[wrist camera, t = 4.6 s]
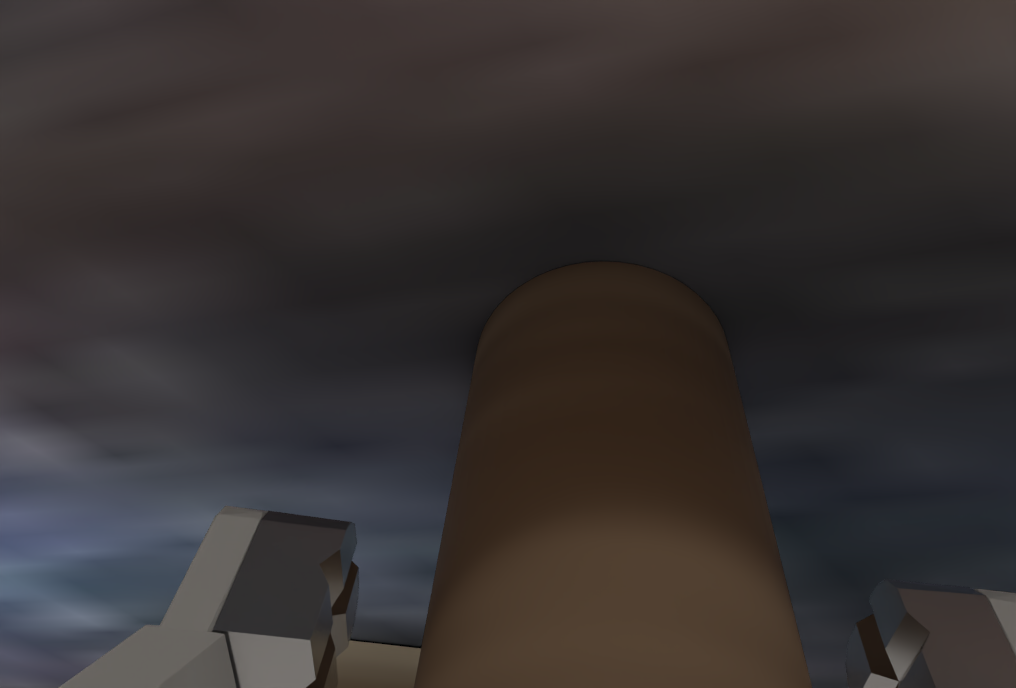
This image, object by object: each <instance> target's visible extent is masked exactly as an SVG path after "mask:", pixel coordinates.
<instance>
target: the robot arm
mask: <svg viewBox="0 0 1016 688" xmlns="http://www.w3.org/2000/svg"><path fill="white" fill-rule="evenodd" d="M356 544H357V538H356V528H355V523H352V522H347V521H340V520H332V519H325V518H318V517H310V516H303V515H296V514H288V513H281V512H273V511H263V510H255V509H247V508H239V507H231V506H225V507H224V508H223V509H222V510H221V511H220V512H219V513H218V514H217V515H216V516H215V518H214V520H213V522H212V524H211V526H210V528H209V529H208V531H207V533H206V535H205V537H204V539H203V541H202V543H201V545H200V547H199V549H198V551H197V553H196V555H195V557H194V559H193V561H192V563H191V565H190V567H189V569H188V571H187V573H186V575H185V577H184V579H183V581H182V583H181V585H180V587H179V589H178V591H177V593H176V595H175V596H174V598H173V600H172V602H171V604H170V606H169V608H168V610H167V612H166V614H165V616H164V618H163V620H162V622H161V624H160V626H158V625H145V626H144V627H142V628H141V629H140V630H138V631H137V632H135V633H134V634H133V635H131V636H130V637H128V638H127V639H126V640H124V641H123V642H121V643H120V644H119V645H117V646H116V647H114V648H113V649H112V650H110V651H109V652H107V653H106V654H105V655H103V656H102V657H101V658H99V659H98V660H96V661H95V662H94V663H92V664H91V665H89V666H88V667H87V668H85V669H84V670H82V671H81V672H80V673H78V674H77V675H75V676H74V677H73V678H71V679H70V680H69V681H67V682H66V683H64V684H63V685H62V686H60V687H59V688H337V685H338V673H337V661H336V657H337V656H339V655H340V654H341V653H342V652H343V651H344V650H345V649H347V648H348V645H349V641H350V638H351V634H352V630H353V626H354V621H355V615H356V609H357V603H358V594H359V568H358V567H357V566H356V565H355V564H354V563H353V562H352V558H353V555H354V551H355V548H356ZM869 601H870V605H871V608H872V611H873V614H872V615H870V616H868V617H866V618H865V619H863V620H861V621H859V622H857V623H856V624H855V627H854V629H853V631H852V633H851V635H850V638H849V640H848V644H847V654H846V673H847V682H848V686H849V688H1016V593H1011V592H1002V591H992V590H983V589H972V588H970V587H961V586H951V585H941V584H930V583H920V582H909V581H899V580H889V579H885V580H884V581H882V582H880V583H879V584H877V585H876V587H875V589H874V590H873V592H872V594H871V596H870V598H869Z"/></svg>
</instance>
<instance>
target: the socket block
mask: <svg viewBox="0 0 1016 688" xmlns="http://www.w3.org/2000/svg"><path fill="white" fill-rule="evenodd" d="M420 652H421V648H412V647H404V646H395V645H386V644H377V643H368V642H359V641H349V645H348V648H347V649H345V650H344V651H343V652H342V653H341V654H340V655H339V656H337V657H336V661H337V673H338V685H337V688H414V684H415V679H416V673H417V668H418V662H419V657H420Z"/></svg>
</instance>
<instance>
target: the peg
mask: <svg viewBox="0 0 1016 688" xmlns="http://www.w3.org/2000/svg"><path fill="white" fill-rule="evenodd" d="M414 688H812V685H811V681H810V677H809V673H808V669H807V664H806V660H805V656H804V652H803V648H802V644H801V640H800V636H799V632H798V628H797V624H796V620H795V616H794V612H793V607H792V603H791V599H790V595H789V591H788V587H787V583H786V579H785V575H784V571H783V567H782V563H781V559H780V555H779V550H778V546H777V542H776V538H775V534H774V530H773V526H772V522H771V518H770V514H769V510H768V506H767V502H766V498H765V493H764V489H763V485H762V481H761V477H760V473H759V469H758V465H757V461H756V457H755V453H754V449H753V445H752V441H751V436H750V432H749V428H748V424H747V420H746V416H745V412H744V408H743V404H742V400H741V396H740V392H739V388H738V383H737V379H736V375H735V371H734V367H733V363H732V359H731V355H730V351H729V347H728V343H727V340H726V337H725V333H724V330H723V328H722V326H721V324H720V322H719V320H718V318H717V317H716V315H715V314H714V313H713V311H712V310H711V308H710V307H709V306H708V305H707V304H706V303H705V302H704V301H703V300H702V299H701V298H700V296H699V295H698V294H696V293H695V292H694V291H692V290H691V289H690V288H688V287H687V286H686V285H684V284H683V283H681V282H679V281H677V280H676V279H674V278H672V277H670V276H668V275H666V274H663V273H661V272H659V271H656V270H654V269H650V268H646V267H643V266H639V265H635V264H628V263H622V262H603V261H600V262H586V263H579V264H574V265H568V266H564V267H561V268H558V269H554V270H551V271H548V272H546V273H544V274H542V275H539V276H537V277H535V278H533V279H531V280H530V281H528V282H526V283H525V284H523V285H521V286H520V287H518V288H517V289H516V290H515V291H513V292H512V293H511V294H510V295H508V296H507V297H506V298H505V299H504V300H503V301H502V302H501V303H500V304H499V306H498V307H497V308H496V309H495V310H494V312H493V313H492V315H491V316H490V318H489V319H488V321H487V323H486V325H485V327H484V329H483V331H482V333H481V336H480V340H479V343H478V347H477V352H476V357H475V363H474V368H473V373H472V379H471V384H470V390H469V395H468V400H467V406H466V411H465V416H464V422H463V427H462V432H461V438H460V443H459V448H458V454H457V459H456V464H455V470H454V475H453V481H452V486H451V491H450V497H449V502H448V507H447V513H446V518H445V523H444V529H443V534H442V539H441V545H440V550H439V555H438V561H437V566H436V571H435V577H434V582H433V588H432V593H431V598H430V604H429V609H428V614H427V620H426V625H425V630H424V636H423V641H422V646H421V652H420V657H419V662H418V668H417V673H416V679H415V684H414Z"/></svg>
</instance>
